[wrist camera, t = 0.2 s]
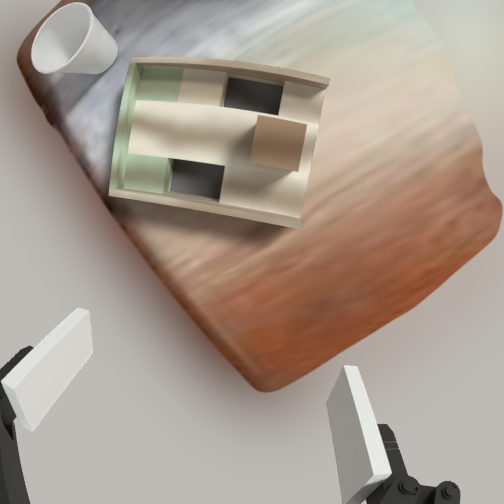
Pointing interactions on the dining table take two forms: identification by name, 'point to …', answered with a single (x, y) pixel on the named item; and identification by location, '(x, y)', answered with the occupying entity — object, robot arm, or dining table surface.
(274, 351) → the dining table surface
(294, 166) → the block
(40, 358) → the robot arm
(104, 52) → the cup
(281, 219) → the box
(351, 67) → the dining table surface
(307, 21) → the dining table surface
